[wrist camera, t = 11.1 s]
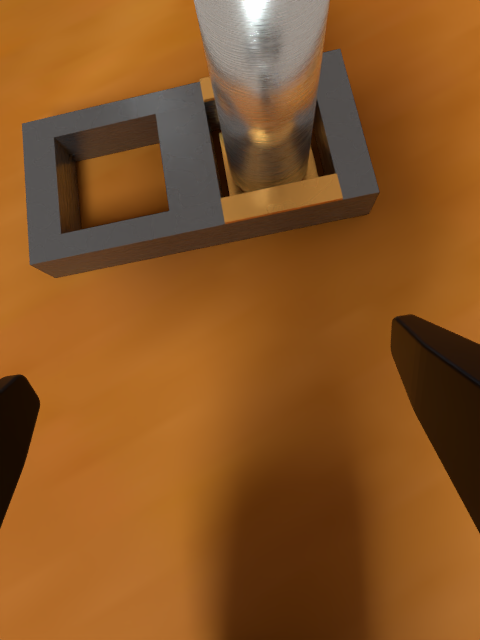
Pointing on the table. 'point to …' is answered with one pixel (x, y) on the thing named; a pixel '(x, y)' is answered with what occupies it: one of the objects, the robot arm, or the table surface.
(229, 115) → the steel peg
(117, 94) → the table surface
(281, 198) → the grey flat frame
